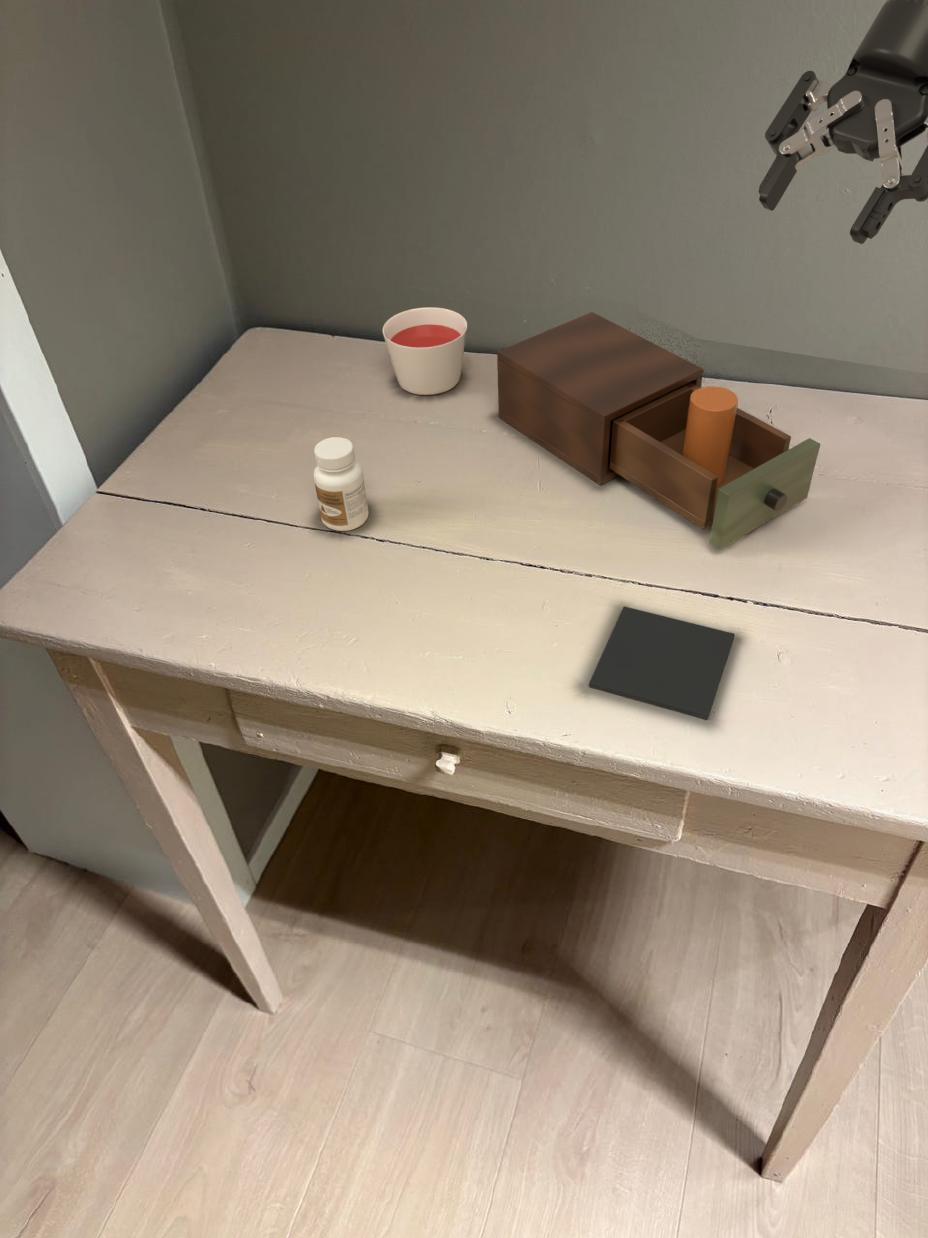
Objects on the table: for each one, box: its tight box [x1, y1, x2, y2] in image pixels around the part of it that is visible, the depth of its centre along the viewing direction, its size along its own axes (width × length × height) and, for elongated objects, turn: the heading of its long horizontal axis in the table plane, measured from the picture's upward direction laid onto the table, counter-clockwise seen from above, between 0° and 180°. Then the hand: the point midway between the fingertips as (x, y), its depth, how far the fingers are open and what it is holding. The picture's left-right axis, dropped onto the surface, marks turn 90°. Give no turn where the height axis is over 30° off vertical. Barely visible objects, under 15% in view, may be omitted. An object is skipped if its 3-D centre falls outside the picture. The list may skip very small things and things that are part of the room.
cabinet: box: [496, 311, 704, 486], centre depth 95 cm, size 16×13×8 cm
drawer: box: [610, 383, 821, 551], centre depth 86 cm, size 16×11×6 cm
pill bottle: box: [312, 436, 369, 532], centre depth 86 cm, size 4×4×8 cm
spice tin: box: [683, 385, 739, 485], centre depth 85 cm, size 4×4×8 cm
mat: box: [588, 605, 736, 720], centre depth 74 cm, size 9×9×1 cm
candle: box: [382, 306, 468, 396], centre depth 104 cm, size 9×9×6 cm
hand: (809, 221), depth 78 cm, fingers open, 8 cm apart
